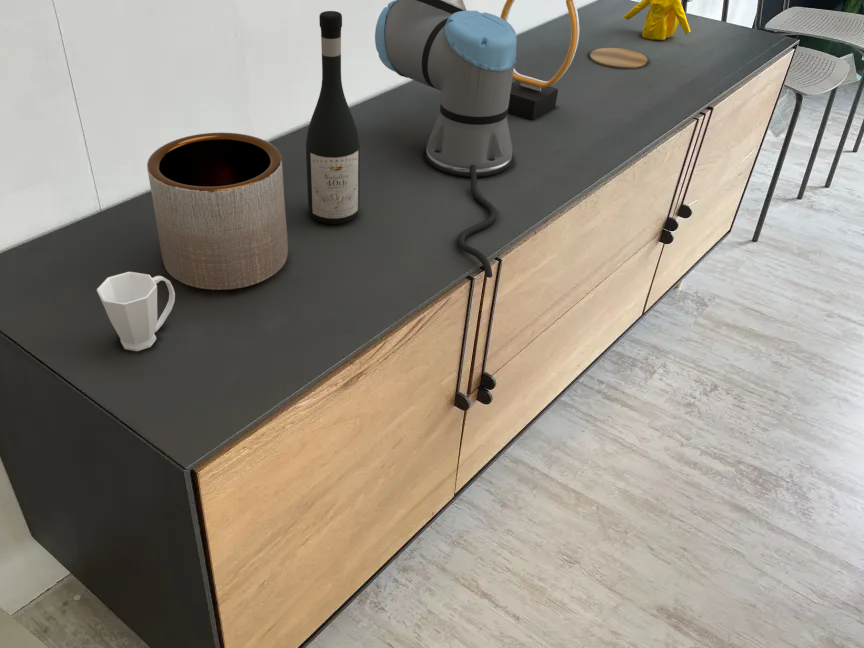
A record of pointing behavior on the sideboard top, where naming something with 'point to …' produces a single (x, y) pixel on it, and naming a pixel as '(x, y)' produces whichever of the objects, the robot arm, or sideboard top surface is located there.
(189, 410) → the sideboard top surface
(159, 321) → the cup
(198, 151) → the planter
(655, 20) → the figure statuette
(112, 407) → the sideboard top surface
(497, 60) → the robot arm
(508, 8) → the lamp
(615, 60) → the tan round disc
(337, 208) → the wine bottle
